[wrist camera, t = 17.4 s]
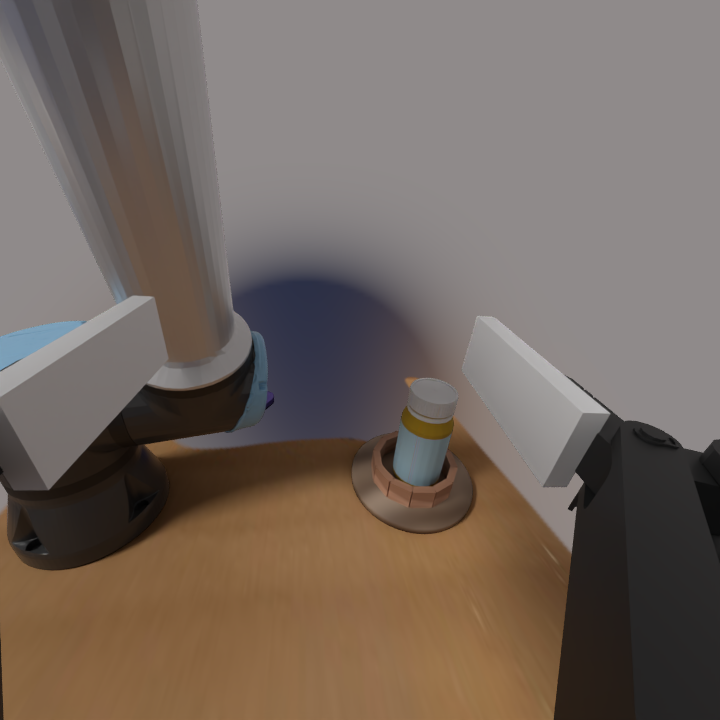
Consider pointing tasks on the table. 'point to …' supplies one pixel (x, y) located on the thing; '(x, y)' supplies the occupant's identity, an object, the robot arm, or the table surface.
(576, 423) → the robot arm
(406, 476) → the bottle
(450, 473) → the bottle holder
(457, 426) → the table surface
